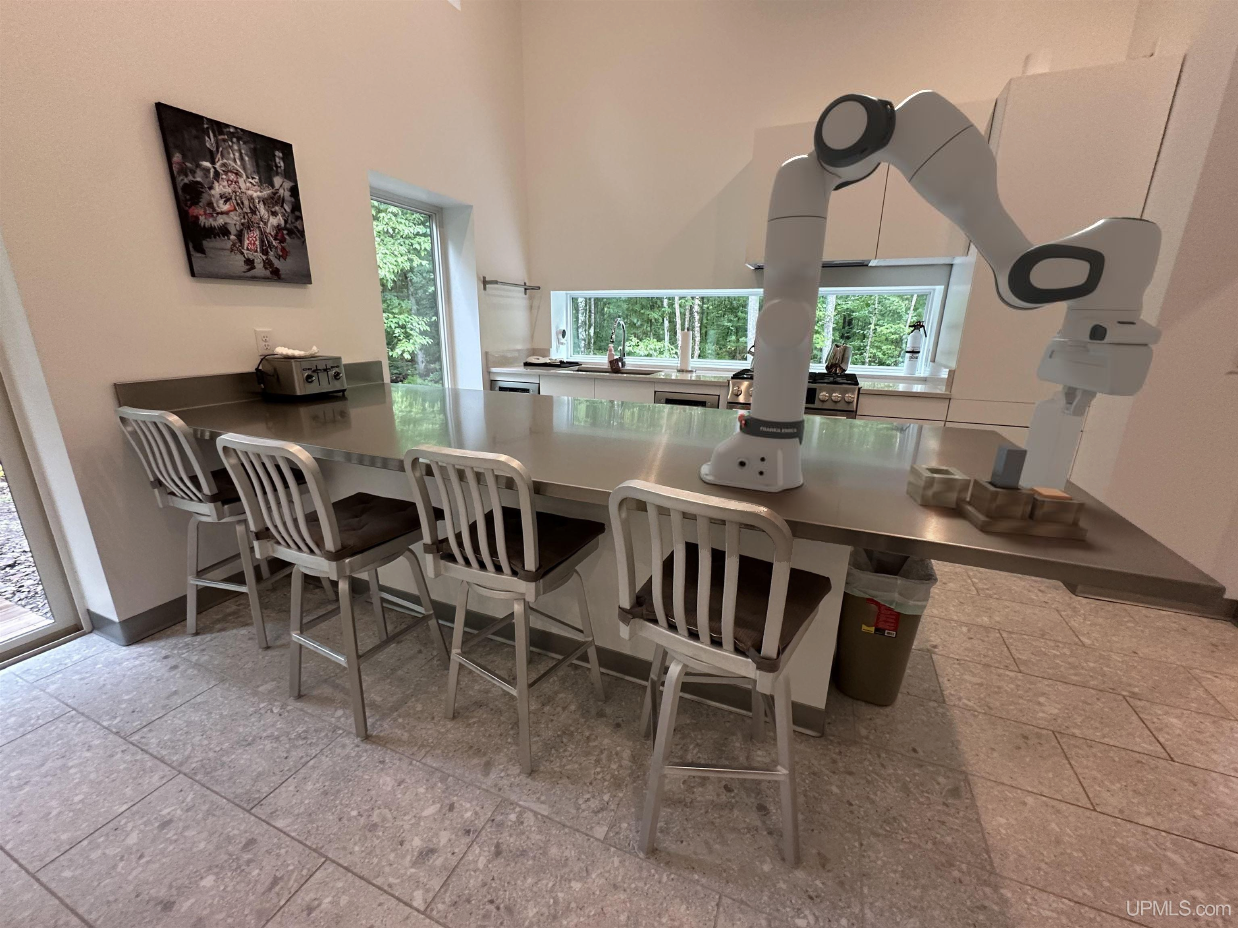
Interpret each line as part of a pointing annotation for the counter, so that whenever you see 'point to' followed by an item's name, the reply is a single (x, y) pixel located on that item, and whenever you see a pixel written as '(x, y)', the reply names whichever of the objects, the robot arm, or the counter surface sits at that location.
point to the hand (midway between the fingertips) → (1071, 414)
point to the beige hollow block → (937, 485)
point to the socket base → (1022, 512)
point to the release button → (1050, 493)
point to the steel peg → (1008, 467)
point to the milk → (1050, 444)
